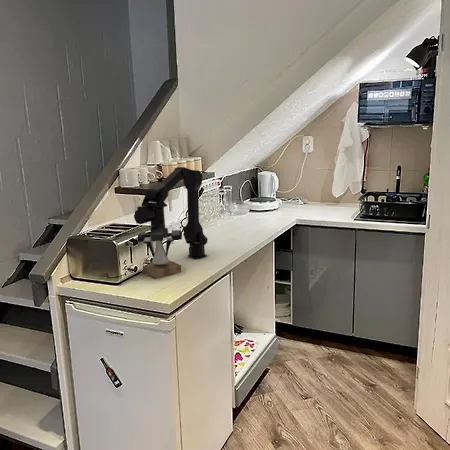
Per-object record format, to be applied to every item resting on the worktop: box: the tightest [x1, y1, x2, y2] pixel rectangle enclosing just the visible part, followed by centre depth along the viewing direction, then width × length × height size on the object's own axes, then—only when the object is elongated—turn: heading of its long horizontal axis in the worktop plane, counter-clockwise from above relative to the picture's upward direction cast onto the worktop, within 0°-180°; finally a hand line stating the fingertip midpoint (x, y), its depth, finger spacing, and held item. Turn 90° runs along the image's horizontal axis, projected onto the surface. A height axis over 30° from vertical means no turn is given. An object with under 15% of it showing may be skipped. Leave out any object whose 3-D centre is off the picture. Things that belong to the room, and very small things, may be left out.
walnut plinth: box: [141, 260, 182, 280], centre depth 189 cm, size 12×12×3 cm
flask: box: [151, 241, 170, 264], centre depth 187 cm, size 7×7×10 cm
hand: (160, 256), depth 188 cm, fingers closed on flask, 5 cm apart
